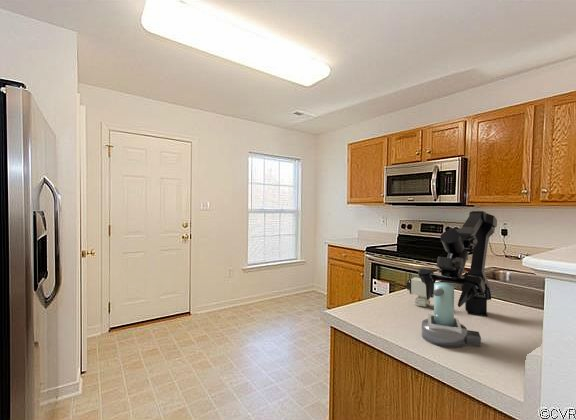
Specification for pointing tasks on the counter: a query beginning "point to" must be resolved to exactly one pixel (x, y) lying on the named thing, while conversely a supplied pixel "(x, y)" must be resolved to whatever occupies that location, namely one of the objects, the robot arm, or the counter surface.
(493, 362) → the counter surface
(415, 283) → the pneumatic valve
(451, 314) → the cylinder
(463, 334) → the grey socket base
